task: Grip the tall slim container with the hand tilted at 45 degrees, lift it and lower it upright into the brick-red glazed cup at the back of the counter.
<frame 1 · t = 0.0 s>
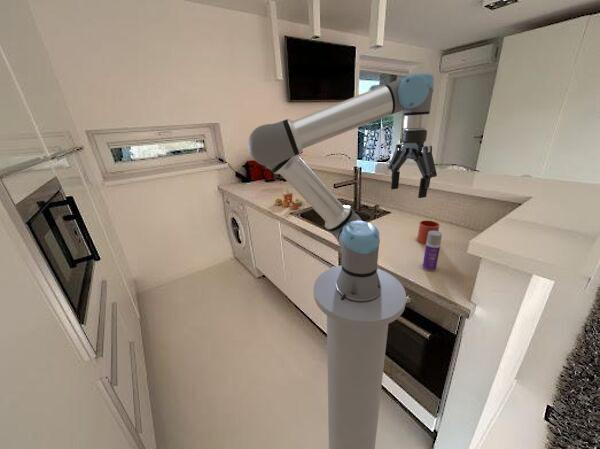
hand: (407, 192, 88), 30 cm above the worktop, tool pointing down, fingers open, 13 cm apart
container: (429, 268, 96), on the worktop
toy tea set: (290, 205, 180), on the worktop
cup: (426, 241, 116), on the worktop
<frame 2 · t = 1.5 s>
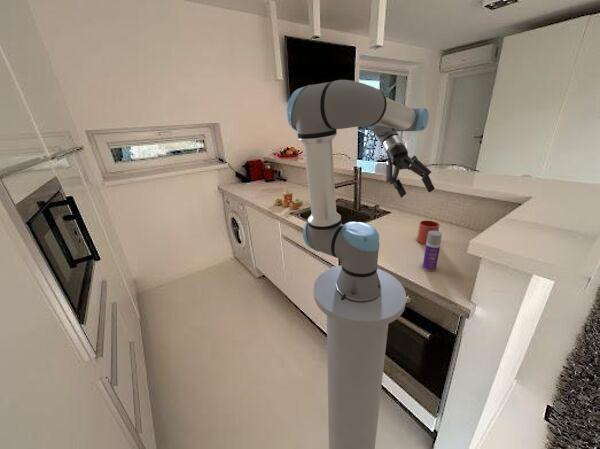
hand: (418, 193, 94), 28 cm above the worktop, tool tilted 45°, fingers open, 13 cm apart
nothing on the worktop moved.
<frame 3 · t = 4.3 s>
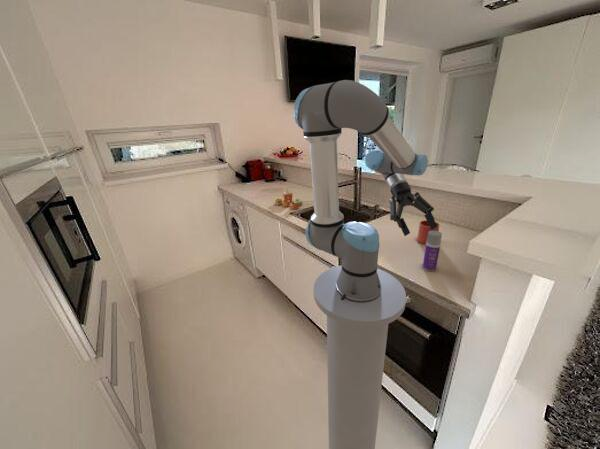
hand: (421, 231, 96), 13 cm above the worktop, tool tilted 45°, fingers open, 13 cm apart
nothing on the worktop moved.
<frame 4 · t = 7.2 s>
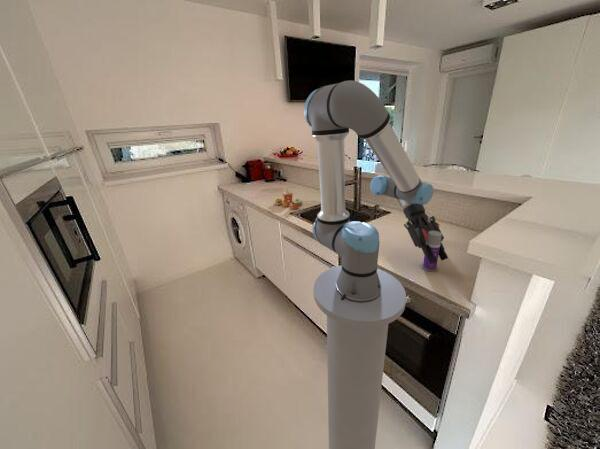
hand: (439, 260, 90), 5 cm above the worktop, tool tilted 45°, fingers closed on container, 5 cm apart
container: (429, 268, 96), on the worktop, touching gripper
everything else where it was.
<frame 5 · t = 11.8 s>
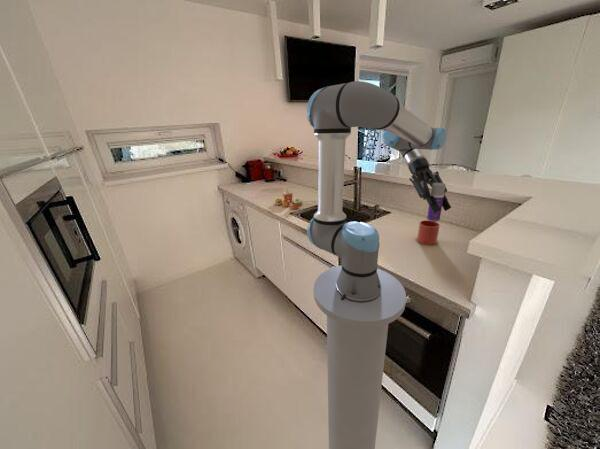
hand: (442, 210, 96), 20 cm above the worktop, tool tilted 45°, fingers closed on container, 5 cm apart
container: (433, 220, 101), point 15 cm above the worktop, touching gripper
everything else where it was.
when the fingers open (10 cm above the worktop, at t = 16.4 s): container drops 1 cm, resting on cup.
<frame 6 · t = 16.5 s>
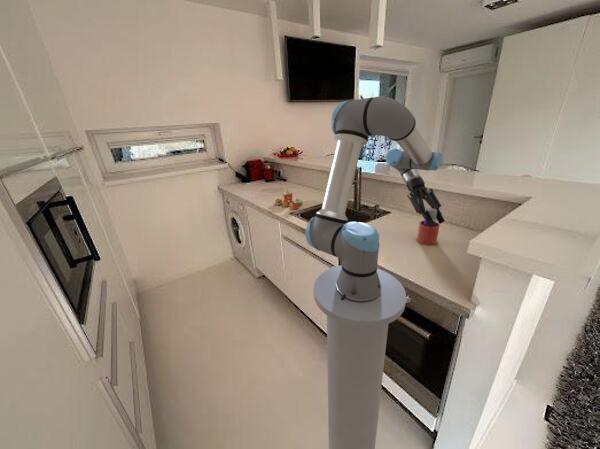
hand: (437, 223, 109), 10 cm above the worktop, tool tilted 45°, fingers open, 5 cm apart
container: (426, 239, 116), point 1 cm above the worktop, touching cup, gripper
everything else where it was.
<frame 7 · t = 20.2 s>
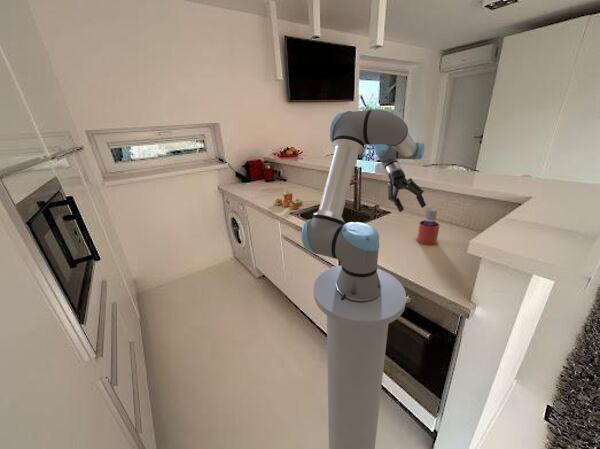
hand: (413, 208, 120), 13 cm above the worktop, tool tilted 45°, fingers open, 13 cm apart
container: (426, 239, 116), point 1 cm above the worktop, touching cup
everything else where it was.
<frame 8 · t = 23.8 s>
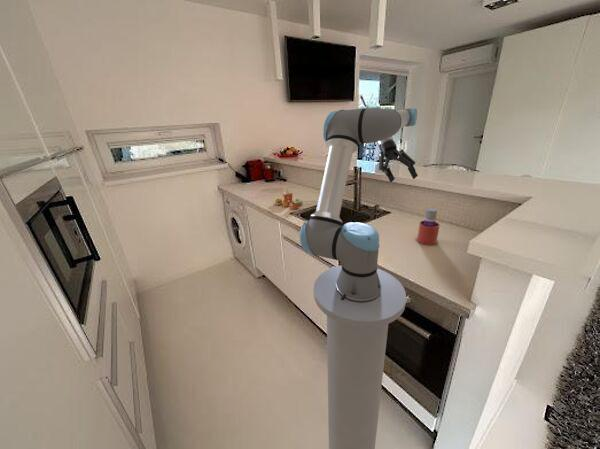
hand: (404, 179, 118), 28 cm above the worktop, tool tilted 45°, fingers open, 13 cm apart
nothing on the worktop moved.
at the end: container 0.1 cm off-centre in the cup, point 0.6 cm above the cup's base; container tilted 0°; the gripper is holding nothing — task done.
